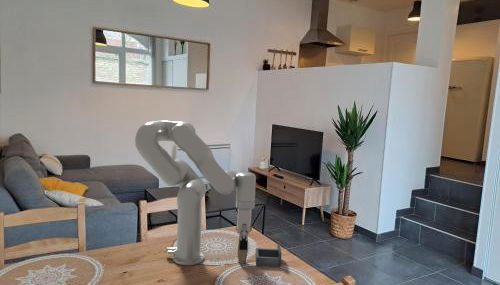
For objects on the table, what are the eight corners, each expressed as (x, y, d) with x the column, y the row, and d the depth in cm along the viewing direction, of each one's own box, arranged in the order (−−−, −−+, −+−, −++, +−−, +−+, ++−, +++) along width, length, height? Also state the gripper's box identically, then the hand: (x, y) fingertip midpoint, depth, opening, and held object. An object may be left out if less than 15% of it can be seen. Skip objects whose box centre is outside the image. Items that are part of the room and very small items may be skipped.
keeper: (255, 265, 142) (256, 251, 141) (255, 256, 150) (256, 242, 150) (280, 267, 142) (281, 252, 141) (278, 257, 151) (279, 243, 150)
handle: (249, 265, 141) (251, 229, 140) (233, 264, 142) (235, 228, 140) (250, 260, 146) (252, 225, 144) (234, 259, 146) (236, 224, 145)
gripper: (236, 197, 150) (235, 236, 152) (235, 209, 132) (233, 253, 134) (254, 198, 150) (252, 236, 152) (255, 210, 132) (253, 254, 134)
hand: (243, 244), depth 143 cm, fingers open, 9 cm apart
